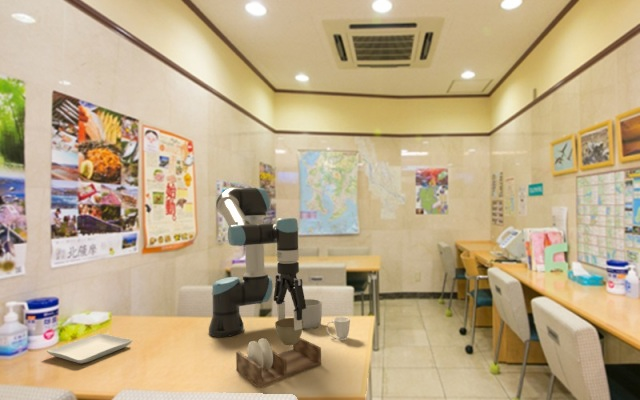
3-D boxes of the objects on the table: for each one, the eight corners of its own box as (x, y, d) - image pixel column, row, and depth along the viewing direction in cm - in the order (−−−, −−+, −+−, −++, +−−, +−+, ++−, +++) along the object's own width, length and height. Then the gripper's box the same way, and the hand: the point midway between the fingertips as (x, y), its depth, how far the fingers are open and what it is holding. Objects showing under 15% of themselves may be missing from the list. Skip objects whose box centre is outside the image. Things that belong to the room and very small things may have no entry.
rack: (236, 369, 120) (236, 351, 120) (295, 351, 135) (294, 335, 135) (259, 387, 108) (258, 367, 108) (321, 365, 122) (320, 347, 122)
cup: (349, 342, 143) (349, 321, 143) (325, 341, 144) (325, 321, 145) (351, 335, 150) (351, 316, 150) (328, 335, 151) (327, 316, 152)
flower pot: (290, 335, 131) (290, 315, 131) (309, 342, 124) (309, 321, 124) (269, 343, 124) (269, 322, 124) (288, 351, 117) (288, 329, 117)
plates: (247, 367, 119) (247, 337, 120) (258, 363, 122) (258, 334, 122) (261, 378, 112) (261, 346, 112) (273, 374, 114) (272, 342, 114)
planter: (322, 330, 157) (321, 305, 158) (294, 331, 157) (293, 306, 158) (322, 321, 170) (321, 298, 170) (296, 322, 170) (296, 299, 170)
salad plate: (134, 347, 144) (134, 338, 144) (80, 369, 124) (80, 359, 125) (100, 340, 153) (100, 332, 153) (45, 360, 133) (45, 350, 133)
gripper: (263, 259, 132) (264, 320, 131) (297, 266, 114) (298, 336, 113) (280, 257, 136) (281, 316, 135) (315, 263, 118) (317, 331, 118)
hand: (289, 325), depth 124 cm, fingers closed on flower pot, 10 cm apart
